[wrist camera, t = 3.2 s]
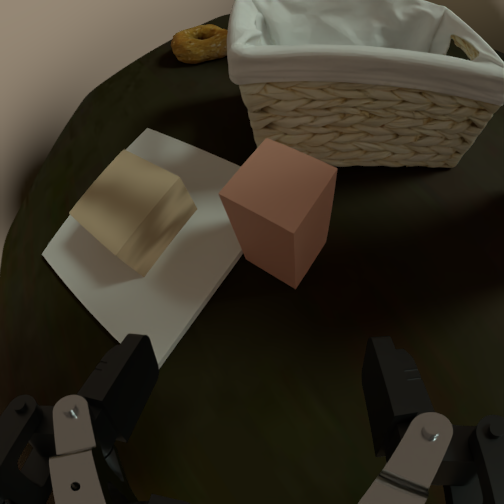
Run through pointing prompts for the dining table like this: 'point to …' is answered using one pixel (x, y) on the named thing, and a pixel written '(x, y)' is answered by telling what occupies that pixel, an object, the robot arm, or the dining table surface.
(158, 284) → the build board
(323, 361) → the dining table surface
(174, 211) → the oak brick
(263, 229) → the tall salmon block
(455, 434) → the robot arm
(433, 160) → the storage basket
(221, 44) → the bagel
